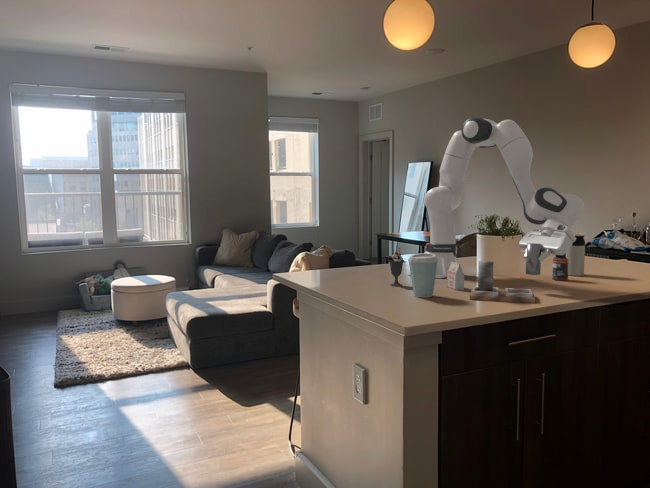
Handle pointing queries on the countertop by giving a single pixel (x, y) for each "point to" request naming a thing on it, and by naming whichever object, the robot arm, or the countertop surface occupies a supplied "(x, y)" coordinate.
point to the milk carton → (455, 277)
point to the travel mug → (576, 256)
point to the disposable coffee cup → (423, 273)
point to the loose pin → (533, 259)
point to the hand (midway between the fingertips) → (532, 259)
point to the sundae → (396, 266)
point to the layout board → (493, 294)
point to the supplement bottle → (560, 268)
